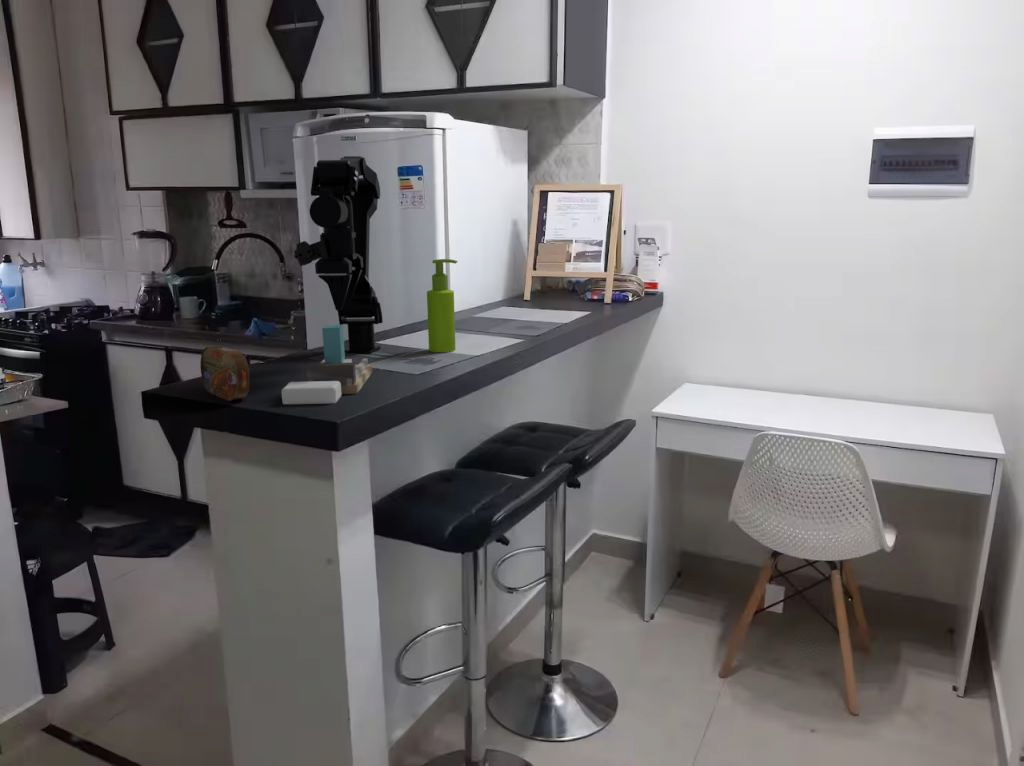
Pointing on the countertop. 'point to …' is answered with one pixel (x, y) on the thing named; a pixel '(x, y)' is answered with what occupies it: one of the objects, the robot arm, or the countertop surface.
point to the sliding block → (334, 344)
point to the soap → (311, 392)
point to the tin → (225, 373)
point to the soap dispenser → (441, 311)
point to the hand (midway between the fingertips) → (343, 307)
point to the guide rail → (341, 374)
